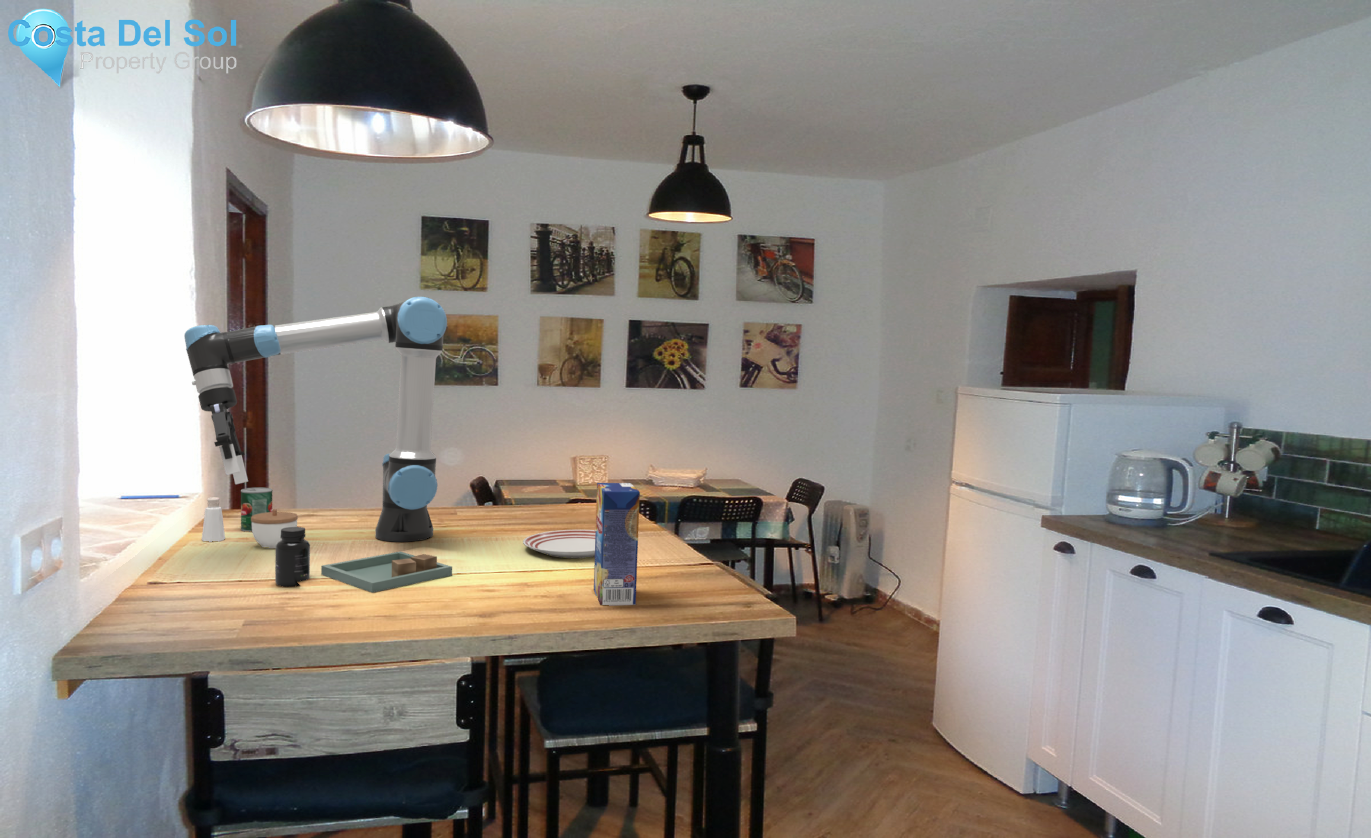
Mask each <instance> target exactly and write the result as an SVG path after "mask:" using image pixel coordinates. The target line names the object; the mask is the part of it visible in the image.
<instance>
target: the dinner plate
mask: <svg viewBox="0 0 1371 838" xmlns="http://www.w3.org/2000/svg"><path fill="white" fill-rule="evenodd" d="M595 534H596V529H595V530H594V529H564V530H563V529H562V530H551V531H544V532H539V533H535V534H531V535H529V536H527V537H525V538H523V540H522V545H524V546H526V547H527V548H529V549H531V550H534V551H536V552H539V553H542V554H544V553H545V555H547V554H548V555H547V556H550V555H551V556H550V557H556V558H562V557H566V558H565V559H586V558H585V557H590V558H595Z"/></svg>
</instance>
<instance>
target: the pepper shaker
mask: <svg viewBox="0 0 1371 838" xmlns="http://www.w3.org/2000/svg"><path fill="white" fill-rule="evenodd" d="M206 501H207V507H204V517H203V525H202V533H201V541H202V542H204V541H209V542H208V543H213V542H212V541H218V542H223V541H225V540H226V536H225V535H226V534H225V525H224V517H223V510H222V507H221V506H220V497H217V496H216V497H213V496H212V497H208V498H207V499H206ZM224 539H225V540H224Z"/></svg>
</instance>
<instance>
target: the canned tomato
mask: <svg viewBox="0 0 1371 838" xmlns="http://www.w3.org/2000/svg"><path fill="white" fill-rule="evenodd" d="M272 510H273V488H271V487H247V488H242V489H241V490H240V531H241V532H245V531H249V532H248V533H251V532H250V531H252V521H251V517H252V516H253V515H256V514H260V513H268V512H272Z"/></svg>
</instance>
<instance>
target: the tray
mask: <svg viewBox="0 0 1371 838" xmlns="http://www.w3.org/2000/svg"><path fill="white" fill-rule="evenodd" d="M414 556H415V555H414V554H410V553H408V552H403V551H400V550H399V551H396V552H390V553H385V554H380V555H379V554H378V555H371V556H368V557H363V558H362V557H361V558H357V559H352V560H346V561H344V560H343V561H340V562H333V563H328V564H324V565H323V564H322V565H321V568H320V569H321V574H320V575H321V576H324V577H327V578H329V579H332V580H335V581H338V582H339V583H340V582H341V583H343V584H346V585H349V586H352V587H355V588H358V589H360V590H363V591H366V592H369V593H371V594H374V593H377V592H382V591H387V590H392V589H396V588H401V587H406V586H410V585H415V584H419V583H424V582H429V581H433V580H438V579H442V578H447V577H451V576H453V566H452V565H449V564H444V563H440V562H438V561H437V568H435V569H430V570H425V571H420V572H416V573H411V574H406V575H401V576H396V577H392V560H400V559H409V558H410V559H411V557H414Z"/></svg>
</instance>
